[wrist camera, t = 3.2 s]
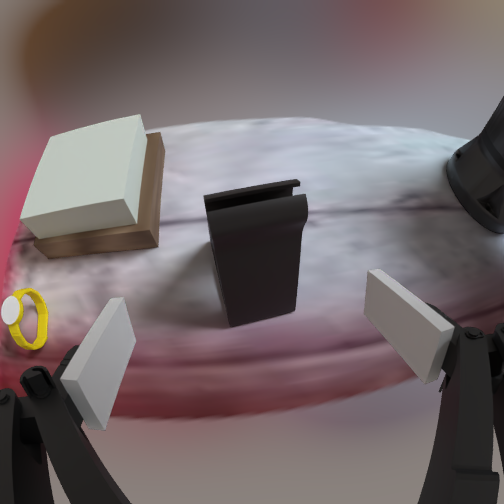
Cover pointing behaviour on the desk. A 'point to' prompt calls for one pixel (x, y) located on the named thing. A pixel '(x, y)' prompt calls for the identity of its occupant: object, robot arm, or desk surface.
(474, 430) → the robot arm
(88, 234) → the lower block
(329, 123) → the desk surface
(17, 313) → the watch
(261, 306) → the phone stand
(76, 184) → the upper block
